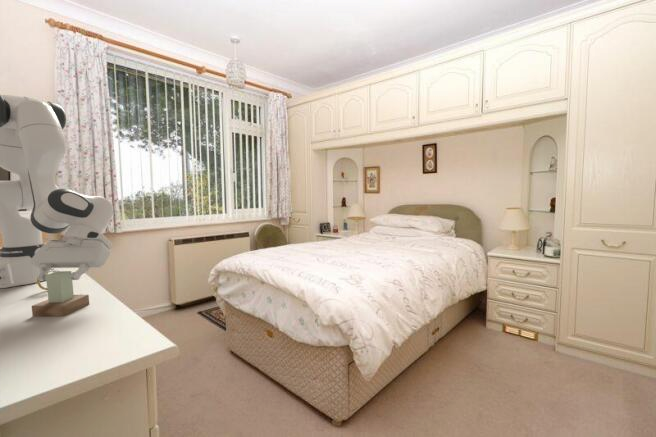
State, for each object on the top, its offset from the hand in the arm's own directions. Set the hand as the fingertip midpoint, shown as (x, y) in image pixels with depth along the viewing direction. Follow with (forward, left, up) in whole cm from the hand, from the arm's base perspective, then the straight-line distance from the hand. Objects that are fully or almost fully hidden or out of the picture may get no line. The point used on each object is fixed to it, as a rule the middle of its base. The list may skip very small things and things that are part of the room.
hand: (57, 279), depth 91 cm
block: (0, +1, -6) cm, 6 cm away
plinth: (0, +1, -9) cm, 9 cm away
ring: (-20, +20, -10) cm, 30 cm away
